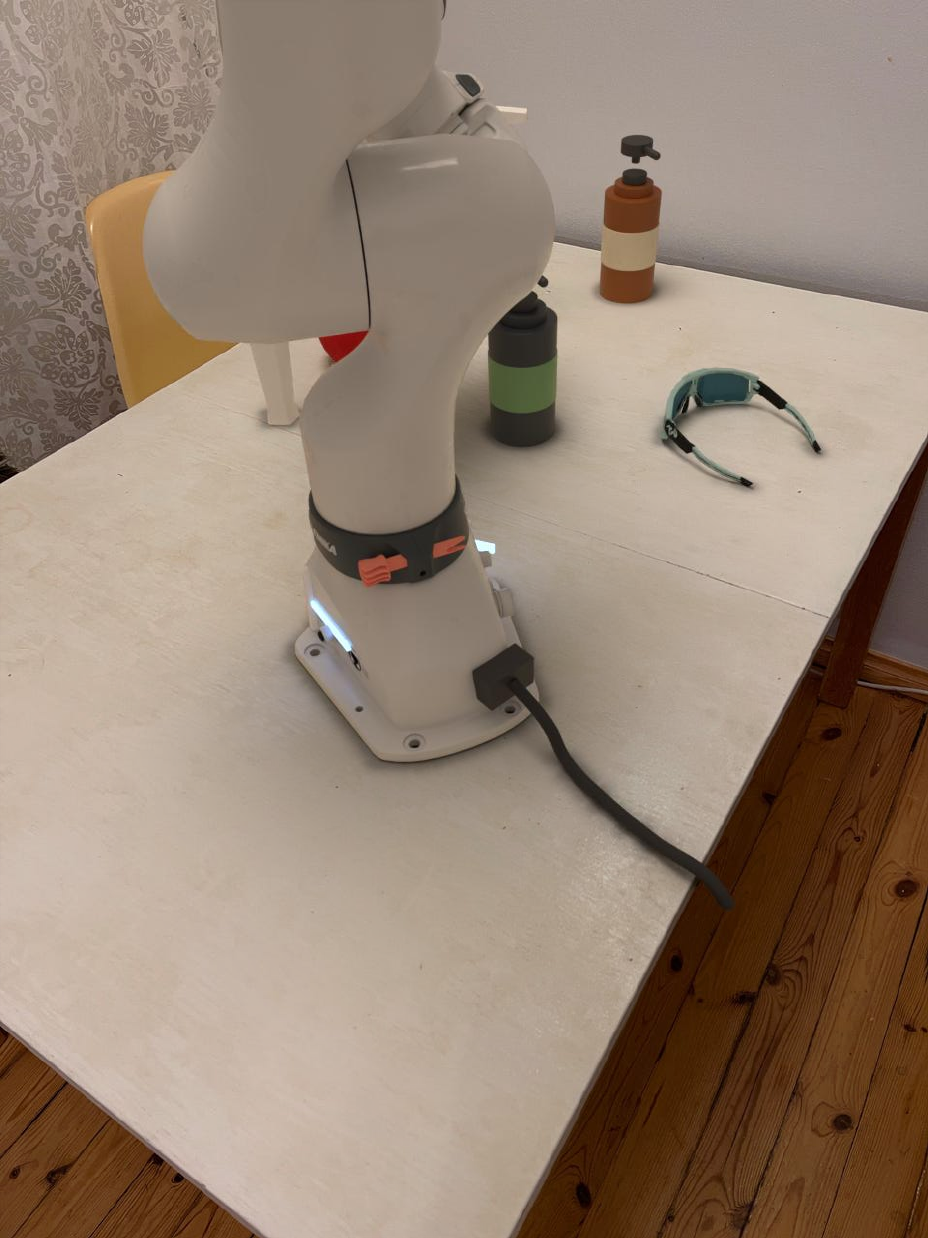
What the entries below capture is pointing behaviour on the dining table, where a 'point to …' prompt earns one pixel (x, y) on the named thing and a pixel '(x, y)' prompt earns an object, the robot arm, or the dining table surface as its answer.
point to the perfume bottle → (276, 381)
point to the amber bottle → (630, 237)
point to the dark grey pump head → (638, 147)
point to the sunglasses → (719, 390)
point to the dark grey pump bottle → (523, 373)
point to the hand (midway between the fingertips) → (521, 243)
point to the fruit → (341, 344)
